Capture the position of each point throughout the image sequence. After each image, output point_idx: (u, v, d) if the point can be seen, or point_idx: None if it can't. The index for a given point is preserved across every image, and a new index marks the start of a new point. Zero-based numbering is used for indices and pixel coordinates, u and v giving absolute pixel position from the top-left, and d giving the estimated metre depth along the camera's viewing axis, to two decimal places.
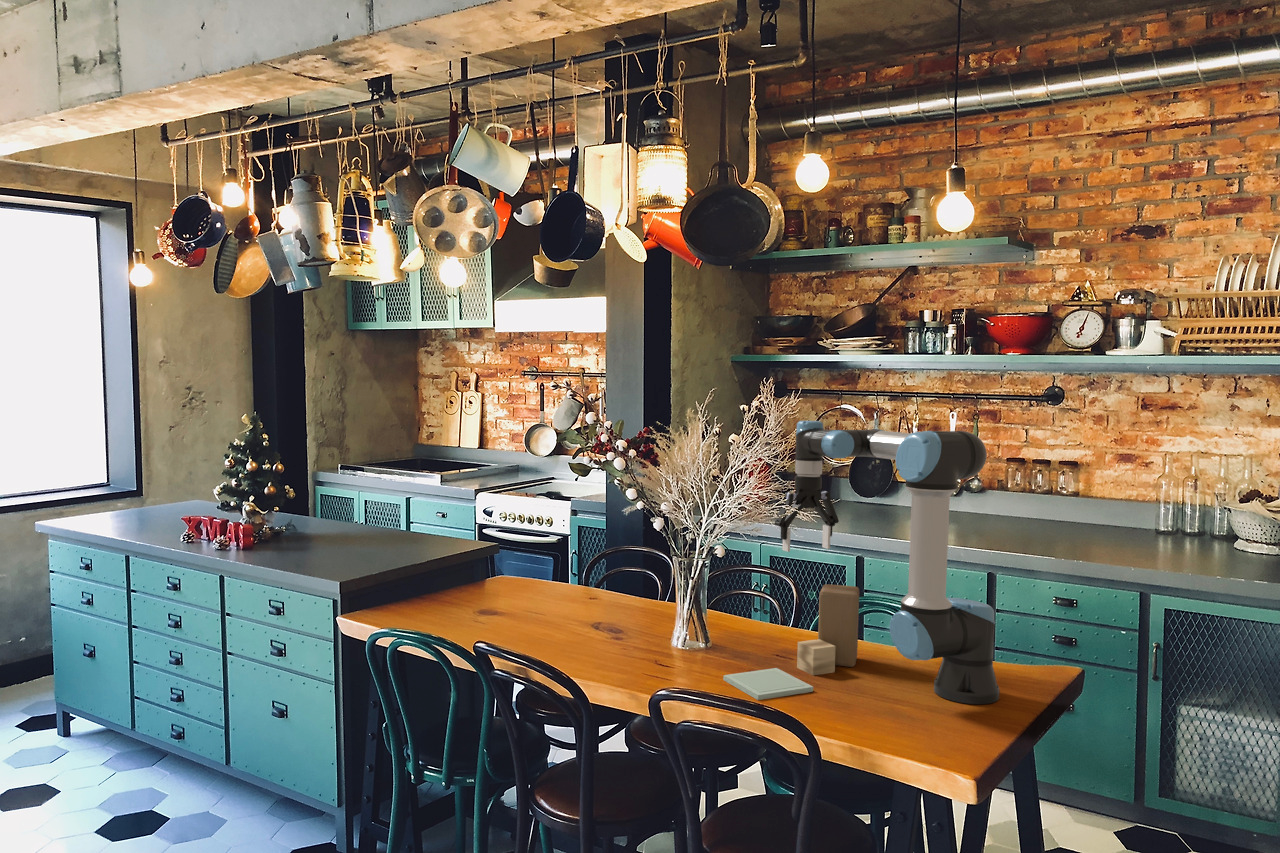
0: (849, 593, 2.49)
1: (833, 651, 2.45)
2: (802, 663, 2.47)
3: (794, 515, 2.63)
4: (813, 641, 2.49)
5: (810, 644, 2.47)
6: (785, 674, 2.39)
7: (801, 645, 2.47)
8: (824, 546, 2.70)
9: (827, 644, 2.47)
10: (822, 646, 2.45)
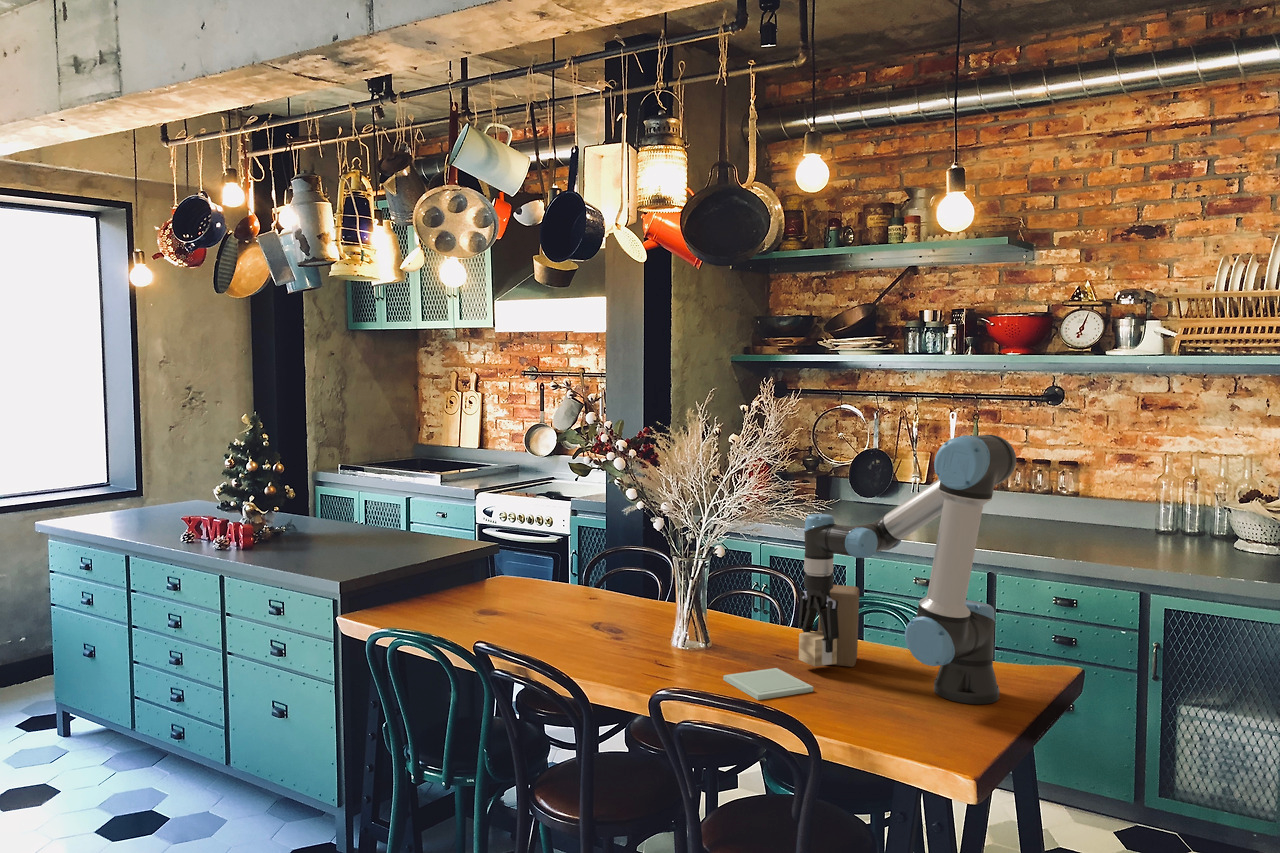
0: (849, 593, 2.49)
1: (835, 642, 2.45)
2: (804, 654, 2.46)
3: (806, 617, 2.49)
4: (814, 632, 2.49)
5: (812, 635, 2.46)
6: (785, 674, 2.39)
7: (803, 637, 2.47)
8: None
9: None
10: None
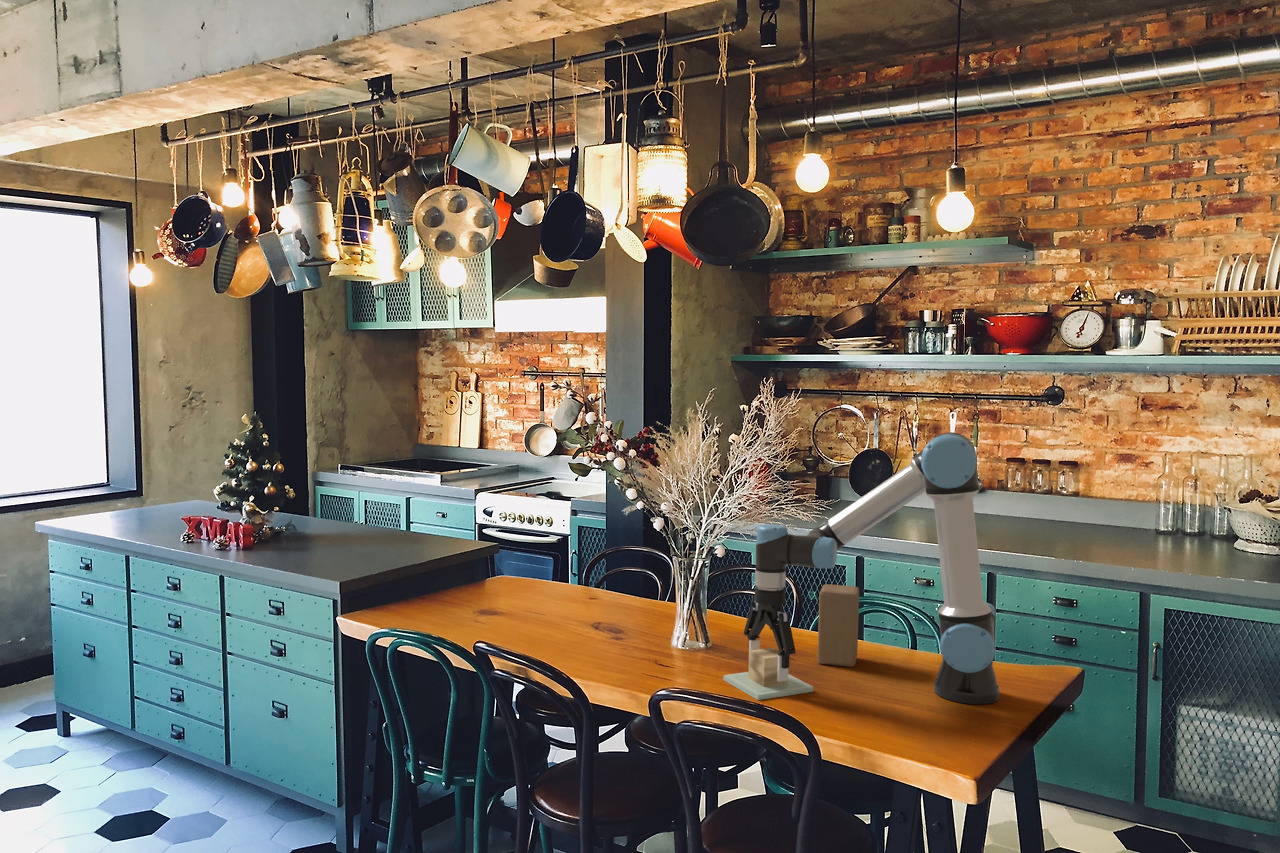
0: (849, 593, 2.49)
1: None
2: (753, 673, 2.33)
3: (754, 627, 2.37)
4: (765, 650, 2.36)
5: (762, 653, 2.33)
6: None
7: (752, 654, 2.33)
8: None
9: None
10: (774, 655, 2.31)
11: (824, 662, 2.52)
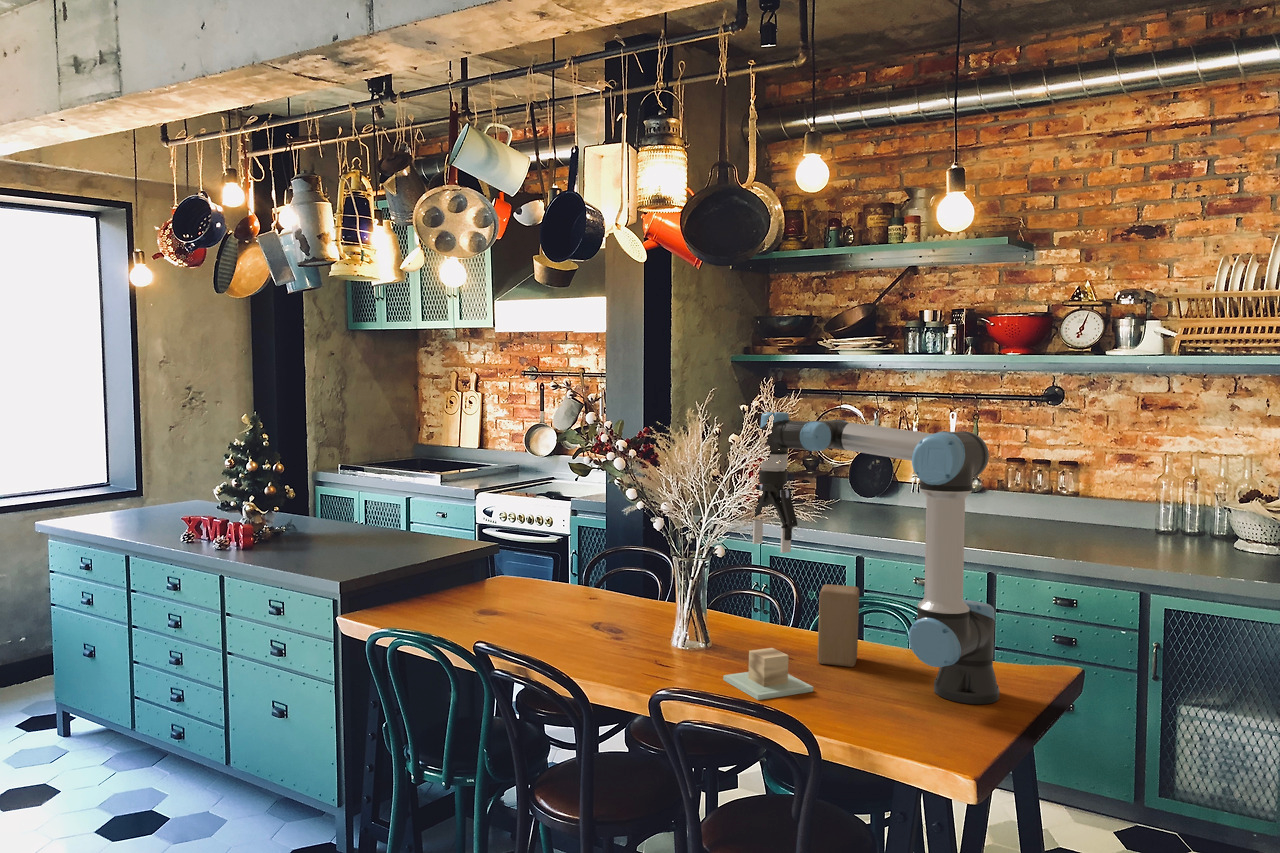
0: (849, 593, 2.49)
1: (786, 661, 2.32)
2: (753, 673, 2.33)
3: (758, 508, 2.57)
4: (765, 650, 2.36)
5: (762, 653, 2.33)
6: None
7: (752, 654, 2.33)
8: None
9: (780, 653, 2.33)
10: (774, 655, 2.31)
11: (824, 662, 2.52)
